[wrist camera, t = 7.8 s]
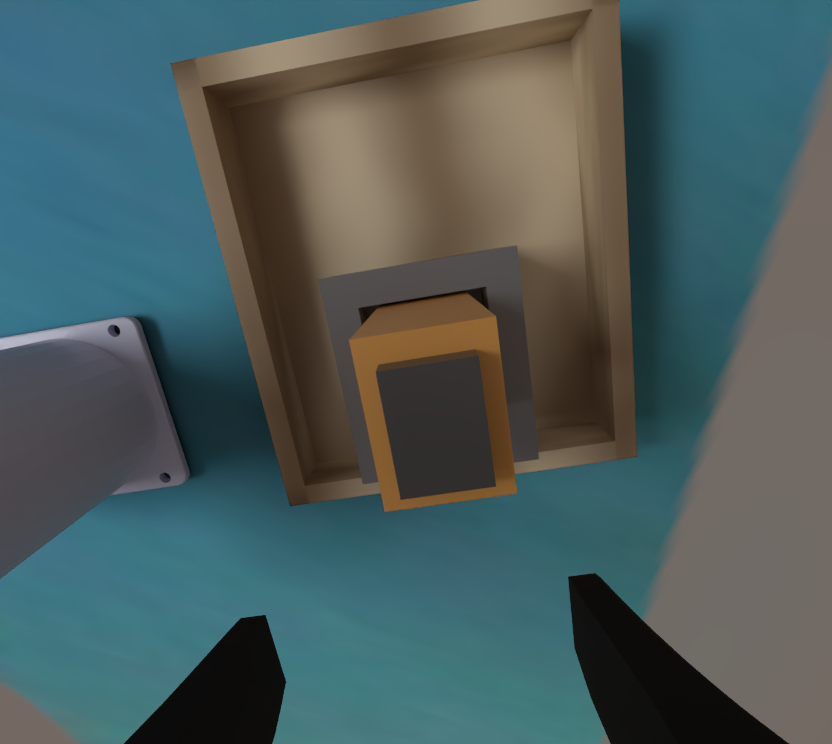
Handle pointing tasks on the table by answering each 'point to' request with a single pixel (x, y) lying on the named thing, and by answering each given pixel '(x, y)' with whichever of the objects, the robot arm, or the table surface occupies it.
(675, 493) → the table surface
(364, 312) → the inlet socket
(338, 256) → the walled box
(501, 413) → the plug
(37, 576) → the table surface
